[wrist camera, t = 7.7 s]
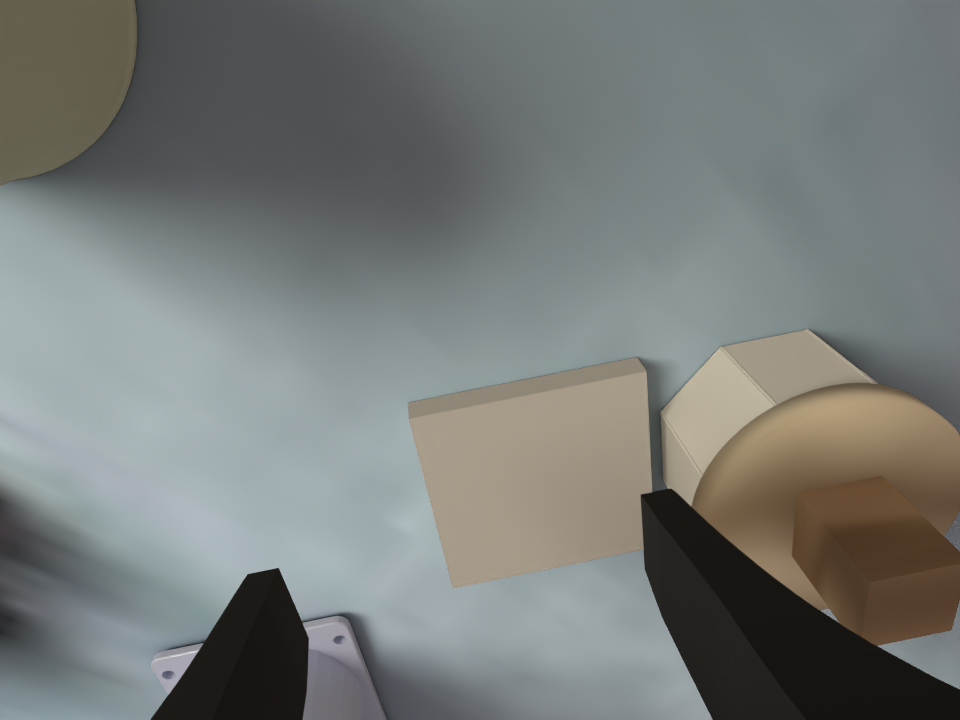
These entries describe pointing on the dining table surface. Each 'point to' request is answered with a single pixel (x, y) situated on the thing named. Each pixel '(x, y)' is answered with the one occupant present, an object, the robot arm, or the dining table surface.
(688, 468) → the bowl
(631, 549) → the cream block
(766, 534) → the lid
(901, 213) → the dining table surface
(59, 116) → the can
